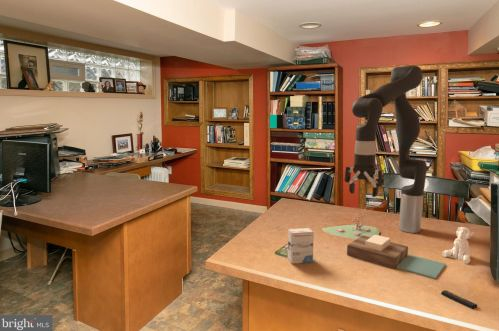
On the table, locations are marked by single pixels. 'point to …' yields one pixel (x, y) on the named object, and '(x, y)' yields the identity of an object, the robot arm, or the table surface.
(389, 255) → the plate
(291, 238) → the ink box
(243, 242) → the table surface
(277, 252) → the smartphone
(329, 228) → the green diorama
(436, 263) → the teal mat
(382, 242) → the ivory tile
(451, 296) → the usb stick
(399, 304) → the table surface
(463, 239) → the sitting furry creature
